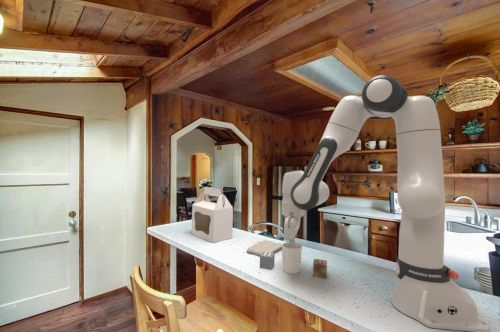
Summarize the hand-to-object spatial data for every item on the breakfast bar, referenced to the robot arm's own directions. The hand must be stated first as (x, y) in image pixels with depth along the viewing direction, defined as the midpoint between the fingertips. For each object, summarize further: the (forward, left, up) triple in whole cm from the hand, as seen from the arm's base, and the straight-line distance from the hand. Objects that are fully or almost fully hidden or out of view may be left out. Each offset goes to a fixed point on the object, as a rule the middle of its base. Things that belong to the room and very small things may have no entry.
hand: (291, 245), depth 98 cm
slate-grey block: (+10, 0, -10) cm, 14 cm away
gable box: (+50, -29, -10) cm, 59 cm away
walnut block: (-11, 0, -10) cm, 15 cm away
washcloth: (+15, -18, -11) cm, 26 cm away
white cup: (0, 0, -10) cm, 10 cm away
